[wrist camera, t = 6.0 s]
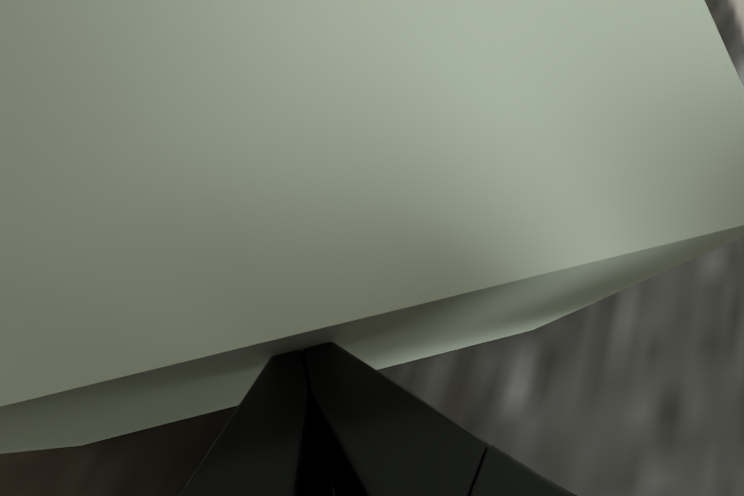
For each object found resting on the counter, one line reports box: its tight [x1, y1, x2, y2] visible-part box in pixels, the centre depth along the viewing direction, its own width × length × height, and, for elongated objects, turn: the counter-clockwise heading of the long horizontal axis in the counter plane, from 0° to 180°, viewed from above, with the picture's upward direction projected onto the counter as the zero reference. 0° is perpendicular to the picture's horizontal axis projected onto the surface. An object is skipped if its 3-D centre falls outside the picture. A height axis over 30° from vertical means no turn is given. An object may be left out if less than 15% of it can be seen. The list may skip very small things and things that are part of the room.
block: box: [0, 0, 744, 454], centre depth 12 cm, size 9×12×10 cm
